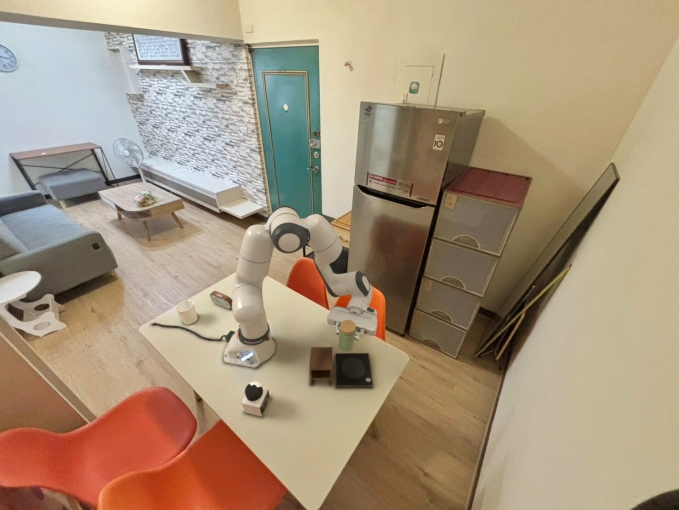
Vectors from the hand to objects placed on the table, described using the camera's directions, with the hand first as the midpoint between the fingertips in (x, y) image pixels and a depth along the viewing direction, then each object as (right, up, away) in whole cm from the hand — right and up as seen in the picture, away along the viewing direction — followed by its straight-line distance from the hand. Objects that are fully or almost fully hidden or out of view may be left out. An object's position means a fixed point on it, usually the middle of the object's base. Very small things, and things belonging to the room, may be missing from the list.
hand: (346, 336), depth 100 cm
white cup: (-79, -2, +36) cm, 87 cm away
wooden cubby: (-10, -20, +13) cm, 26 cm away
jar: (0, -5, +4) cm, 6 cm away
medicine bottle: (-34, -27, +2) cm, 43 cm away
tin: (-66, +3, +44) cm, 79 cm away
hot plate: (+3, -19, +15) cm, 24 cm away
